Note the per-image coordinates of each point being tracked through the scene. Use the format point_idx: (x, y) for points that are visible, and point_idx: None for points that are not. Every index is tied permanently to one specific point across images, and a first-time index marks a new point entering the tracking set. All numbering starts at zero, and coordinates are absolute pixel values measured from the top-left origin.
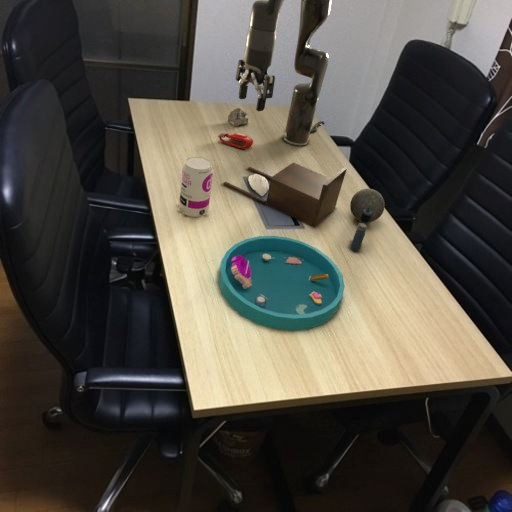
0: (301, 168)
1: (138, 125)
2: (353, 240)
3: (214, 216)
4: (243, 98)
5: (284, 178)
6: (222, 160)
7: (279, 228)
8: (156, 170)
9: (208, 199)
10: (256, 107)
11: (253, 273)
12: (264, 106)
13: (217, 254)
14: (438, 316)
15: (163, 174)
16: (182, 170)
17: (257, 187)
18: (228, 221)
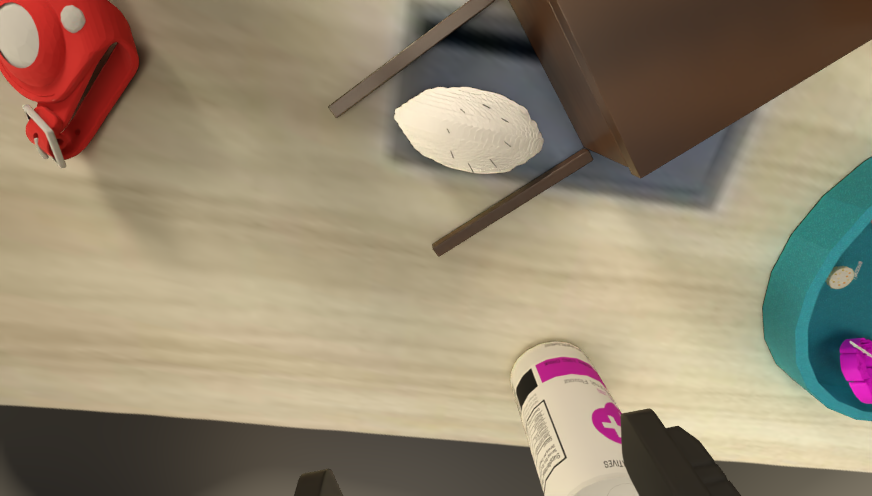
0: None
1: (3, 402)
2: None
3: (594, 329)
4: (335, 488)
5: (670, 108)
6: (254, 193)
7: (728, 165)
8: (326, 409)
9: (599, 380)
10: (641, 493)
11: (846, 318)
12: (710, 460)
13: (738, 368)
14: None
15: (350, 397)
16: None
17: (516, 158)
18: (630, 302)
